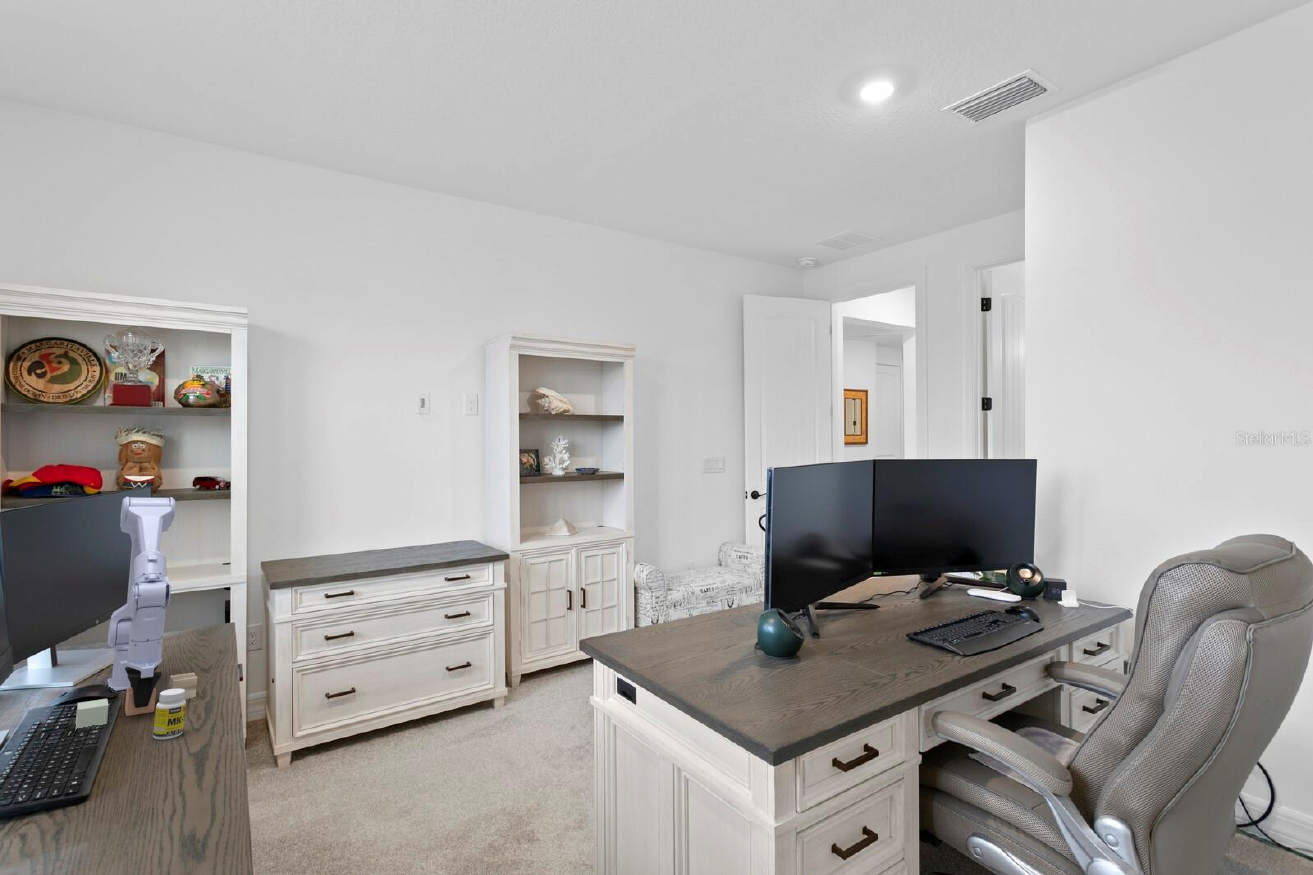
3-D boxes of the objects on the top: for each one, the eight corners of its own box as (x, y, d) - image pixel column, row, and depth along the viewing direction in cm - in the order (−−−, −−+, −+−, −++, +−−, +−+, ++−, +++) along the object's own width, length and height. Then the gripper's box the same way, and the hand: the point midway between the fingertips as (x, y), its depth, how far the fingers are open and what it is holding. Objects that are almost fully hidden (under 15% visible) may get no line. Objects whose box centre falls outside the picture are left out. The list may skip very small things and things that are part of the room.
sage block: (75, 726, 129) (77, 703, 130) (104, 721, 132) (107, 698, 133) (76, 733, 126) (78, 709, 126) (106, 728, 129) (108, 705, 129)
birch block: (168, 696, 147) (170, 675, 148) (192, 692, 151) (194, 672, 151) (171, 701, 144) (172, 681, 144) (195, 697, 147) (197, 677, 147)
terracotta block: (124, 709, 138) (127, 688, 139) (151, 705, 141) (153, 684, 142) (126, 716, 135) (128, 694, 135) (153, 711, 138) (156, 690, 138)
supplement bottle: (166, 741, 124) (170, 697, 125) (146, 738, 125) (150, 694, 126) (189, 732, 129) (193, 689, 129) (169, 729, 130) (173, 686, 130)
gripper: (119, 633, 142) (113, 697, 141) (125, 649, 131) (118, 717, 130) (159, 629, 146) (154, 690, 146) (168, 644, 136) (162, 710, 135)
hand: (140, 703), depth 138 cm, fingers closed on terracotta block, 4 cm apart
